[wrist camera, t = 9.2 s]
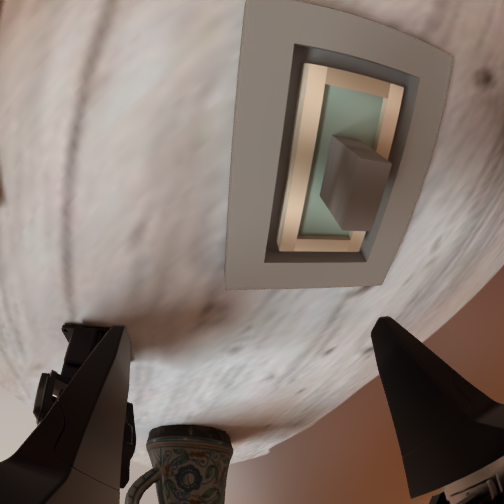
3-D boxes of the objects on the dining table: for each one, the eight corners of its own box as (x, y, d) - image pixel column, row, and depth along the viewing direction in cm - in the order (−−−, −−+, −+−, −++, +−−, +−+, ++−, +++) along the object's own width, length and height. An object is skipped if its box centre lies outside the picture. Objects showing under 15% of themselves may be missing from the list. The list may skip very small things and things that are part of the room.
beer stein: (228, 446, 54) (240, 547, 34) (140, 443, 50) (141, 544, 31) (235, 423, 44) (252, 555, 24) (123, 418, 41) (120, 550, 21)
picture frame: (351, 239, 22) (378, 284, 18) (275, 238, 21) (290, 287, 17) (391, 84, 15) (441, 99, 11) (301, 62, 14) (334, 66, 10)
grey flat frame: (372, 269, 25) (381, 285, 23) (224, 271, 23) (225, 289, 21) (434, 53, 13) (453, 56, 12) (245, 1, 12) (249, -6, 10)
